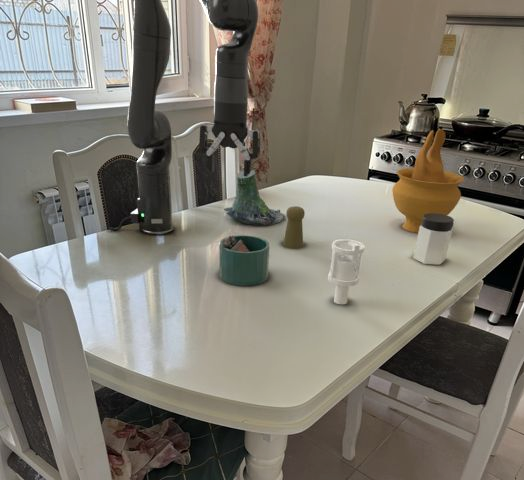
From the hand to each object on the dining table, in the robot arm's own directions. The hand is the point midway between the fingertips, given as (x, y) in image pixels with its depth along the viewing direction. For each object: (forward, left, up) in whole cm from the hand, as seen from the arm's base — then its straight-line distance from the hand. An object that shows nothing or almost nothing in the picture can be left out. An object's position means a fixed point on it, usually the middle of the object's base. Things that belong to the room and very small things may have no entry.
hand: (228, 173), depth 121 cm
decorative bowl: (+53, +47, -23) cm, 75 cm away
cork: (+15, +19, -23) cm, 34 cm away
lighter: (+8, -7, -21) cm, 24 cm away
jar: (+54, +19, -23) cm, 62 cm away
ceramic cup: (+6, -7, -23) cm, 25 cm away
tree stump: (-1, +40, -23) cm, 47 cm away
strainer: (+31, -15, -23) cm, 41 cm away
